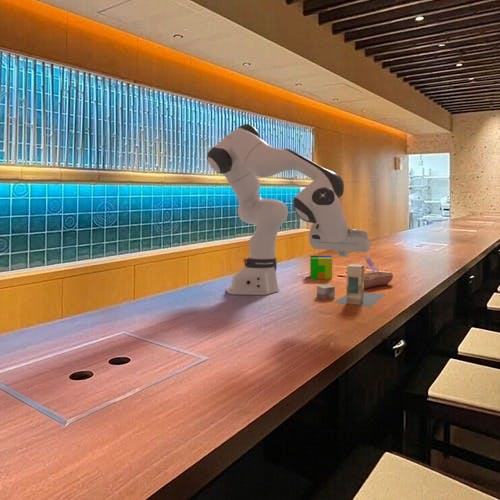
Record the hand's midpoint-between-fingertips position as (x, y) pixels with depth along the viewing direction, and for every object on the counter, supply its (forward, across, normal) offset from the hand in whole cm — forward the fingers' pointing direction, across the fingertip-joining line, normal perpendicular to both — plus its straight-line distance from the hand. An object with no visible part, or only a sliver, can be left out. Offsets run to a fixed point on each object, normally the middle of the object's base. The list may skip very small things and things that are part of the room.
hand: (344, 255), depth 163 cm
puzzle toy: (+54, +31, -26) cm, 68 cm away
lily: (+67, +12, -39) cm, 79 cm away
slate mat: (+28, 0, 0) cm, 28 cm away
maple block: (+23, 0, +5) cm, 23 cm away
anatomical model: (+47, +3, -19) cm, 51 cm away
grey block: (+24, +12, +4) cm, 28 cm away
